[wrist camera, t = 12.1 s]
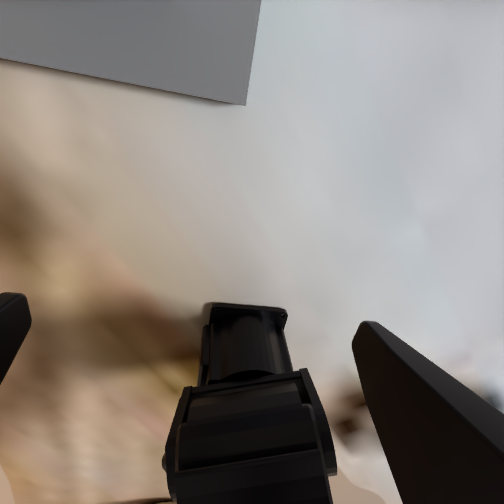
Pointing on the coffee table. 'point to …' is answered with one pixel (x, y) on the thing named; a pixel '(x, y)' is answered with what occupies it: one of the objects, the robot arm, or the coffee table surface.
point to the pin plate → (139, 41)
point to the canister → (167, 503)
